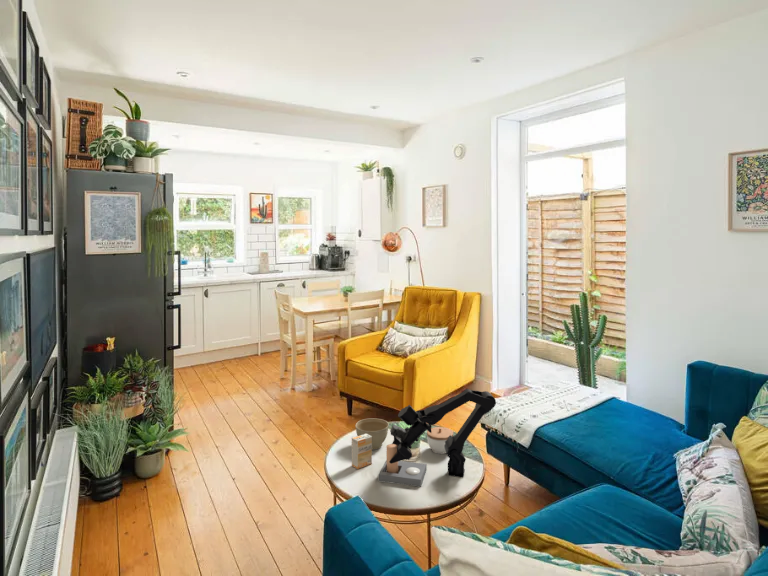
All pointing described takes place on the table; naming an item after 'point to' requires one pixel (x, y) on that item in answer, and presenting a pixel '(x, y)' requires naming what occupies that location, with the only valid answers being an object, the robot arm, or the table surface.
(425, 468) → the plate
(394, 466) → the cylinder
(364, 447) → the supplement box
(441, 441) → the lidded bowl
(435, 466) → the table surface
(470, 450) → the table surface
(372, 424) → the planter bowl
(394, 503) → the table surface
